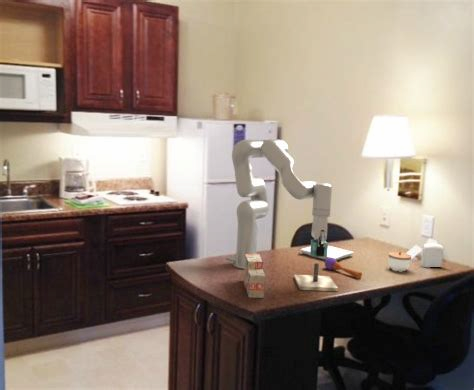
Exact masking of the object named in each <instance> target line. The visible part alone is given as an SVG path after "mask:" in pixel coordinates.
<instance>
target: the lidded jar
mask: <svg viewBox="0 0 474 390" xmlns="http://www.w3.org/2000/svg"><path fill="white" fill-rule="evenodd" d="M387 255H388V257H387V258H388V259H387V262H388V265H389V267H390V268H391V270H392V271H394V272H397V271H399V273H403V272H402V271H404V272H405V271H406V270H408V269H409V267H410V265H411V261H412V260H411V259H412V255H410V254H408V253H405V252H402V251H391V252H388V254H387Z"/></svg>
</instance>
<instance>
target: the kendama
mask: <svg viewBox="0 0 474 390" xmlns="http://www.w3.org/2000/svg"><path fill="white" fill-rule="evenodd" d="M324 267H325V268H326V269H327V270H330V271H333V270H334V271H338V270H339V271H340V270H342V271H343V272H345V273H347V274H349V275H350V276H353V277H354V278H356V279H357V280H359V279H362V277H363V274H362V272H360V271H357V270H353V269H350V268H346V267H344V266H342V265H341V263H340V262H339V261H338V260H335V259H334V258H332V257H331V258H327V259H326V260H324Z"/></svg>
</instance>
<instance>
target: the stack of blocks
mask: <svg viewBox="0 0 474 390" xmlns="http://www.w3.org/2000/svg"><path fill="white" fill-rule="evenodd" d="M263 263H264V261H263V260H262V258H261V255H260V254H259V253H256V254H245V264H244V267H245V268H244V269H243V271H244V272H243V284H244V287H245V290H246V294H247V297H248V298H257V299H258V298H259V299H260V298H261V299H263V298H264V295H265V283H266V274H265V272H264V269H263V268H264V267H263V265H264V264H263Z"/></svg>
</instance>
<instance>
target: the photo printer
mask: <svg viewBox="0 0 474 390" xmlns="http://www.w3.org/2000/svg"><path fill="white" fill-rule="evenodd" d="M443 257H444V246H443V245H441V244H439V243H435V242H433V243H432V242H430V243H425V244H423V246H422V251H421V261H420V267H422V266H423V267H422V268H430V267H441V268H442V265H443Z"/></svg>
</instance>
